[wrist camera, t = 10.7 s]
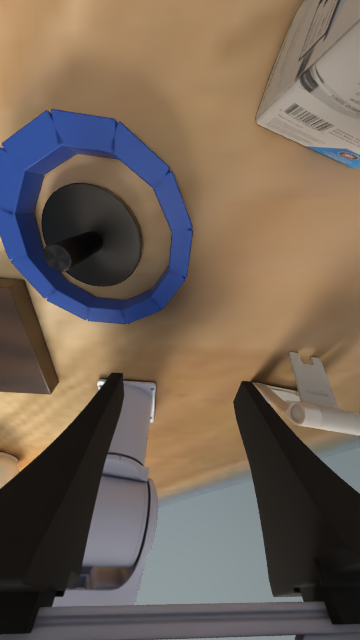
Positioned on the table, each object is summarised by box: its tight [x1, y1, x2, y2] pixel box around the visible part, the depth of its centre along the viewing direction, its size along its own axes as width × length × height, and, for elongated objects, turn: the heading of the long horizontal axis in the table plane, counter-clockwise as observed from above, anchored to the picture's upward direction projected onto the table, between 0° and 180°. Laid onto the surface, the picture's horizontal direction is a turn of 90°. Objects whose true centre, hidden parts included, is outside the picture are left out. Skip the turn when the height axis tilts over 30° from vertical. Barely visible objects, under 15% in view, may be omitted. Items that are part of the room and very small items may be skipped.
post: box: [41, 183, 142, 286], centre depth 14 cm, size 8×8×6 cm
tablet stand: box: [252, 352, 360, 436], centre depth 23 cm, size 9×8×8 cm
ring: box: [0, 109, 193, 324], centre depth 16 cm, size 15×15×2 cm
